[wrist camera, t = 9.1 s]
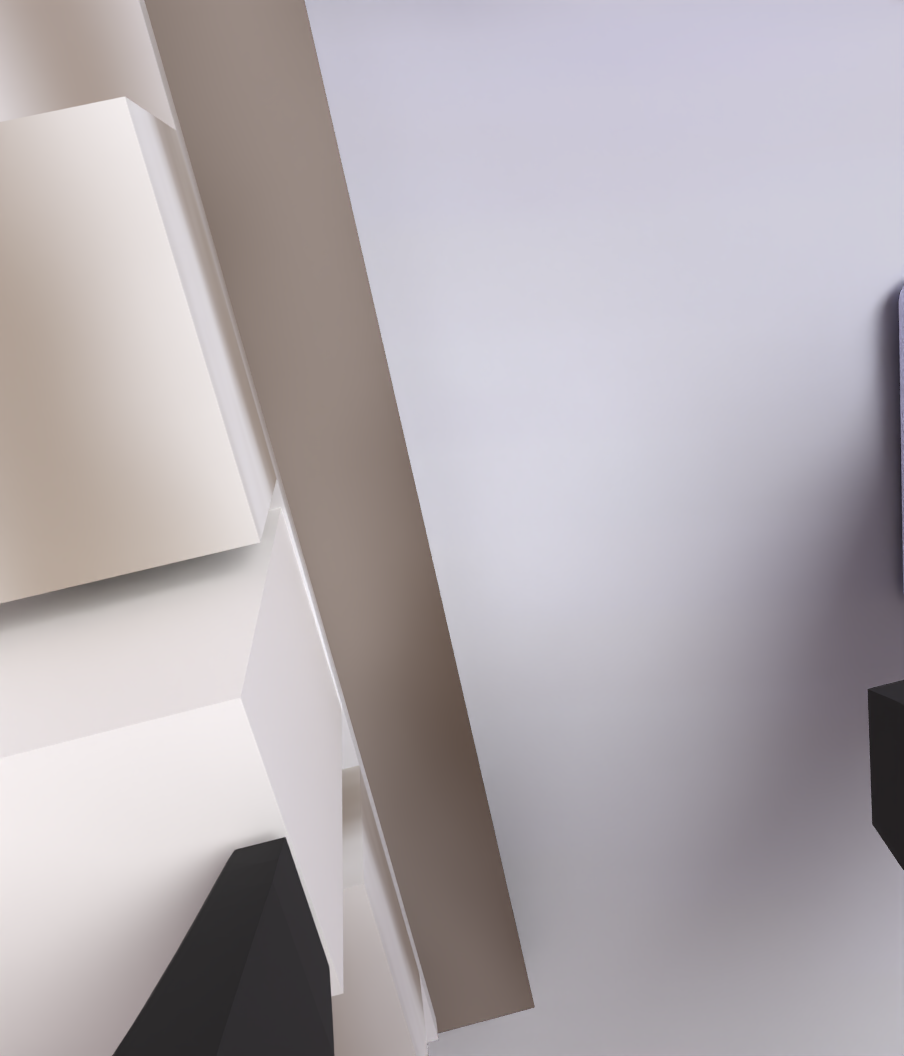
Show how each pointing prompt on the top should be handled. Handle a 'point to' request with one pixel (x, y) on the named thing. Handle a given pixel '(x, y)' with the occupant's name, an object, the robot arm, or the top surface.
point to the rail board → (350, 472)
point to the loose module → (154, 778)
